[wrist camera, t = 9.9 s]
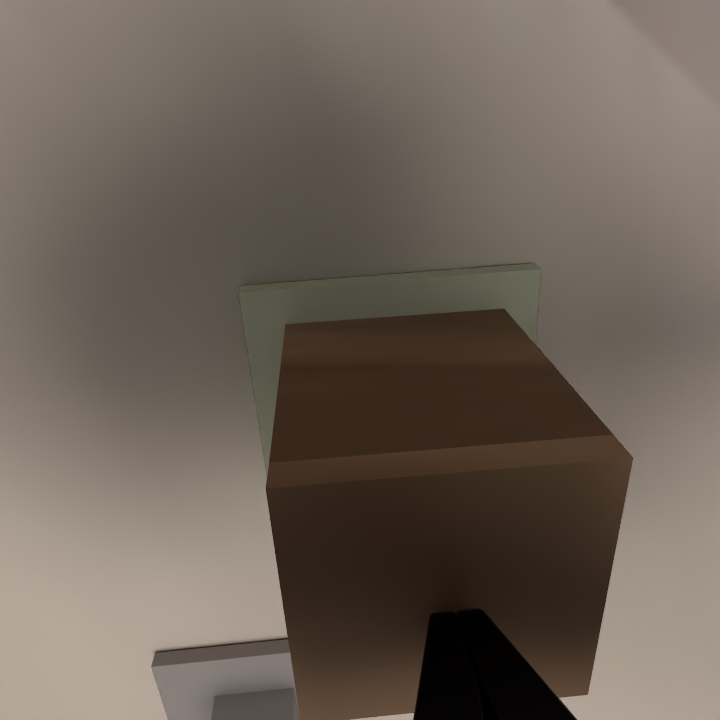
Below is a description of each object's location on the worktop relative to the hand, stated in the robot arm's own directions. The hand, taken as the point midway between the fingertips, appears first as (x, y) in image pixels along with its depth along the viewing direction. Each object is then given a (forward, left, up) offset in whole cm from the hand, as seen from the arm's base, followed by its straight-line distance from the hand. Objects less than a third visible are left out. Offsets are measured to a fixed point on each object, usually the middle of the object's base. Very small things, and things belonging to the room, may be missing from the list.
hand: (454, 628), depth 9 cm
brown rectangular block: (0, 0, -6) cm, 6 cm away
